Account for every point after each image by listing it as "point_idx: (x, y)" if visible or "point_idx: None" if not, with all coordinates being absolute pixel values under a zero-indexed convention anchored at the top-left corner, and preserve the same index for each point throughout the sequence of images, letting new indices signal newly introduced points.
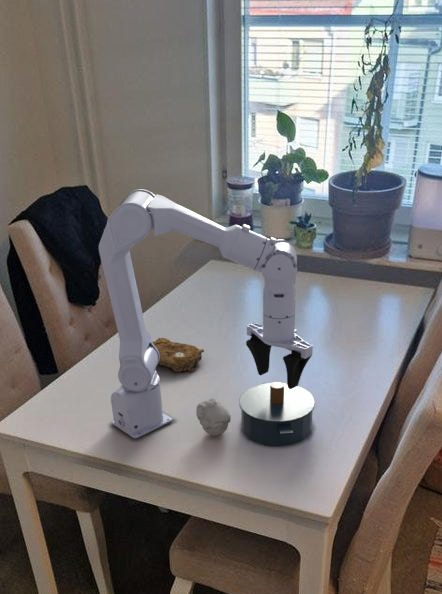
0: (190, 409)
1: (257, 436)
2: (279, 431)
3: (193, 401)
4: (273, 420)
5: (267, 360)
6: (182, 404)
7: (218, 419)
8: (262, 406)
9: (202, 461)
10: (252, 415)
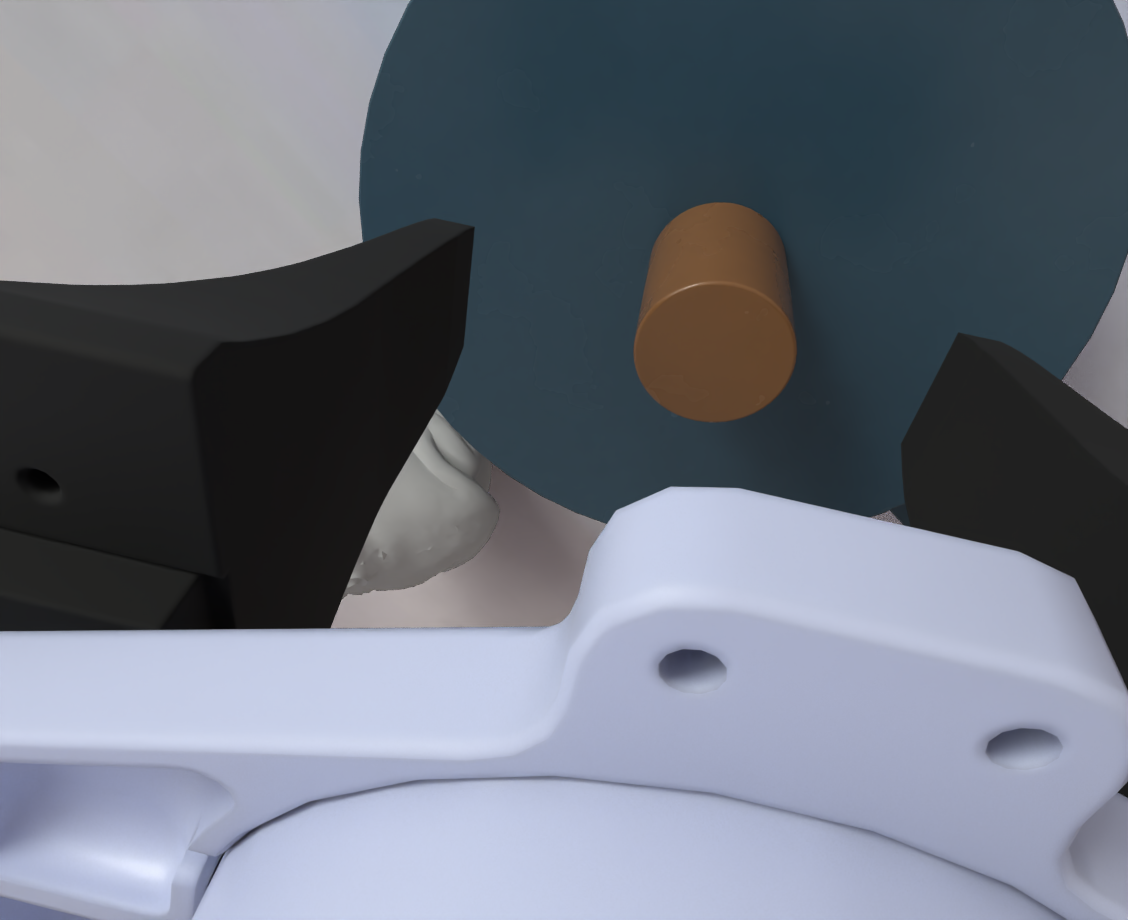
0: (113, 284)
1: None
2: (900, 521)
3: (33, 191)
4: None
5: (414, 304)
6: (29, 261)
7: (457, 563)
8: (650, 403)
9: (547, 615)
10: None
